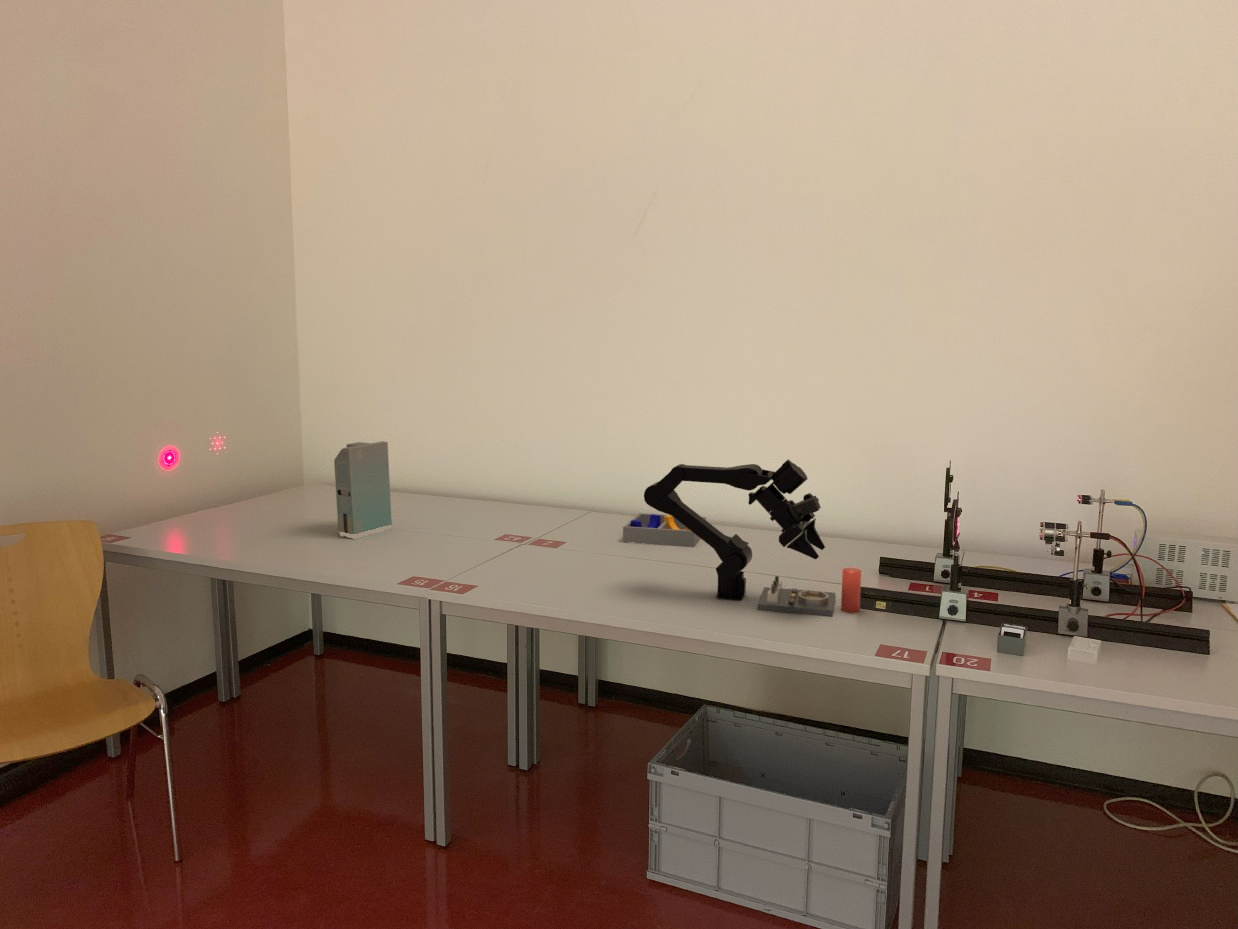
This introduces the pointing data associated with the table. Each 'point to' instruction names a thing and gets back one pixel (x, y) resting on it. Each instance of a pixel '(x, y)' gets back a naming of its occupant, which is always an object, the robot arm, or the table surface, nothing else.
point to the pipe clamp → (672, 523)
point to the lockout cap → (851, 590)
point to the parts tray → (659, 533)
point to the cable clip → (653, 522)
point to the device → (362, 487)
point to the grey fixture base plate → (796, 600)
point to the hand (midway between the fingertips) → (820, 553)
